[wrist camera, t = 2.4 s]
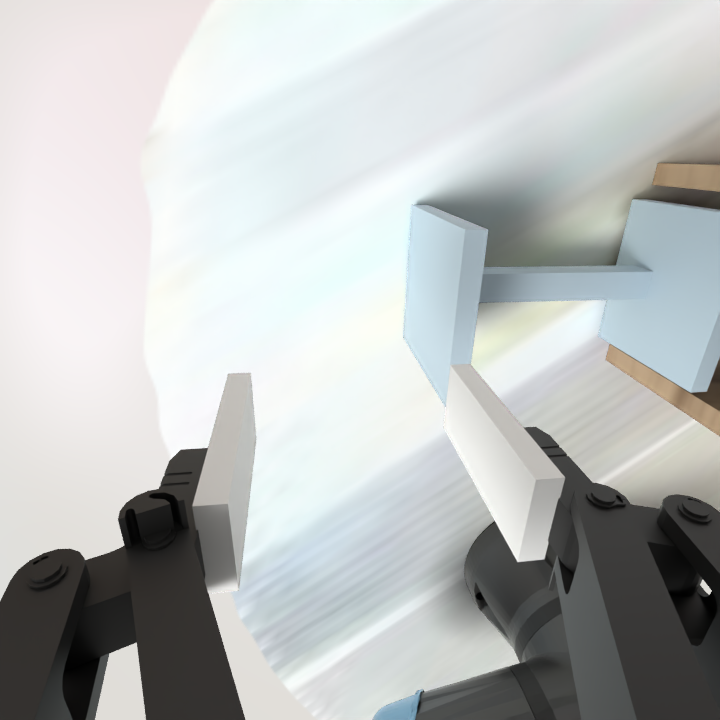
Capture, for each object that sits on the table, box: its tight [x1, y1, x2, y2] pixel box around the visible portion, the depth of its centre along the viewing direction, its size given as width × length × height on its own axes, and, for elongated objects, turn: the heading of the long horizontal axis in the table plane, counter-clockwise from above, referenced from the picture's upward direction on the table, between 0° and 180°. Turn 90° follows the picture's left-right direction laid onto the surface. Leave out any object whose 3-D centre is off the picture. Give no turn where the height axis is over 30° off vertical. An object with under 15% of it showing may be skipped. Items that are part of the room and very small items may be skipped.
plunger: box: [403, 199, 720, 407], centre depth 31 cm, size 18×11×11 cm, turn 89°
